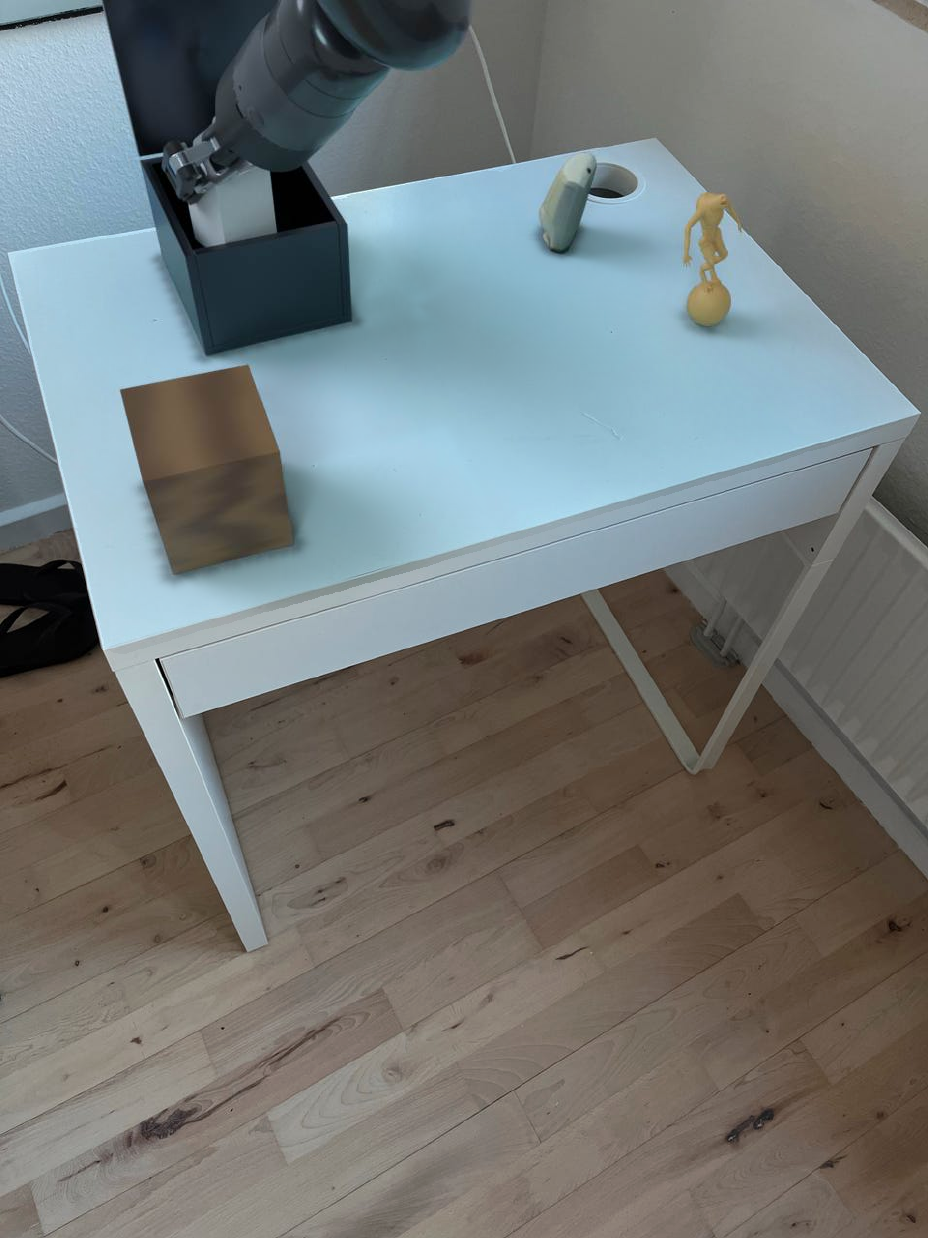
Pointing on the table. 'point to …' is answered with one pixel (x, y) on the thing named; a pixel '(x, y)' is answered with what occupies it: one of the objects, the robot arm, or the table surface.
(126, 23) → the lid
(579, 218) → the grey-green elongated block
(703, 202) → the figurine
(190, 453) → the brown box
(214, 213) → the white box
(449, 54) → the robot arm
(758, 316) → the table surface
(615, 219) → the table surface
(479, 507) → the table surface
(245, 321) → the black open box
